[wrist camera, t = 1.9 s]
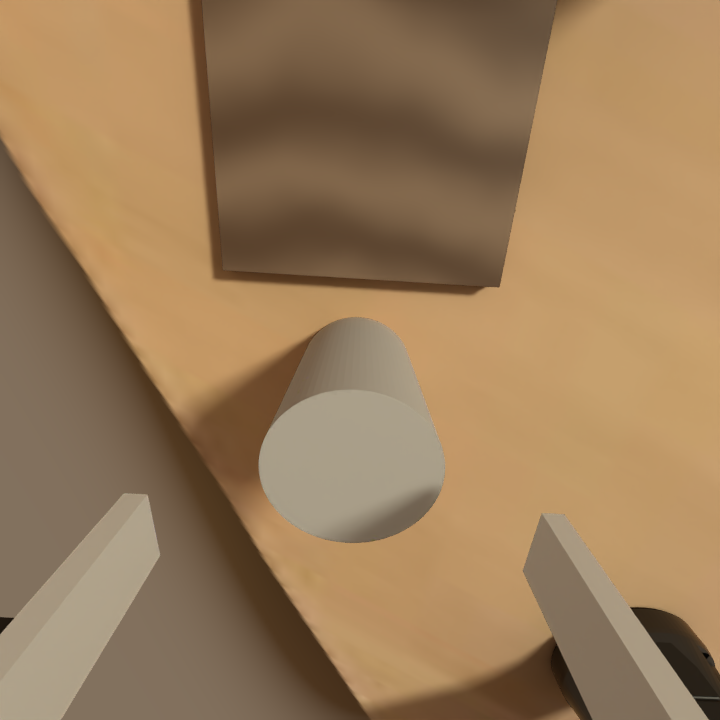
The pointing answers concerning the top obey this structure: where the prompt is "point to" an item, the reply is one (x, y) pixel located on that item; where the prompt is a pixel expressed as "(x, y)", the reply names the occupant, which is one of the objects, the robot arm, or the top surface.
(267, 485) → the beige cylinder
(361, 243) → the walnut board
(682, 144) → the top surface
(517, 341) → the top surface
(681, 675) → the robot arm
